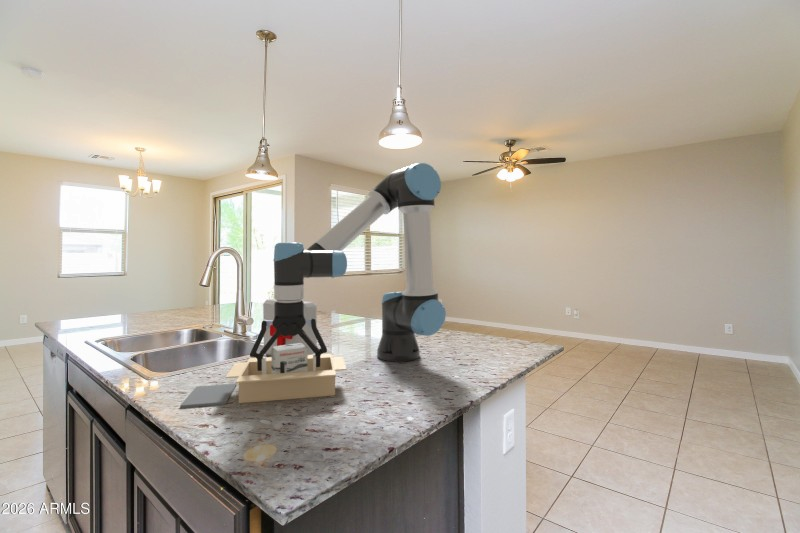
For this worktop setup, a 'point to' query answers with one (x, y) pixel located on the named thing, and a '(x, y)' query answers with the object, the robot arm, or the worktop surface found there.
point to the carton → (286, 380)
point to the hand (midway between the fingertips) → (289, 380)
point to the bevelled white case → (268, 314)
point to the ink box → (289, 358)
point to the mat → (209, 395)
